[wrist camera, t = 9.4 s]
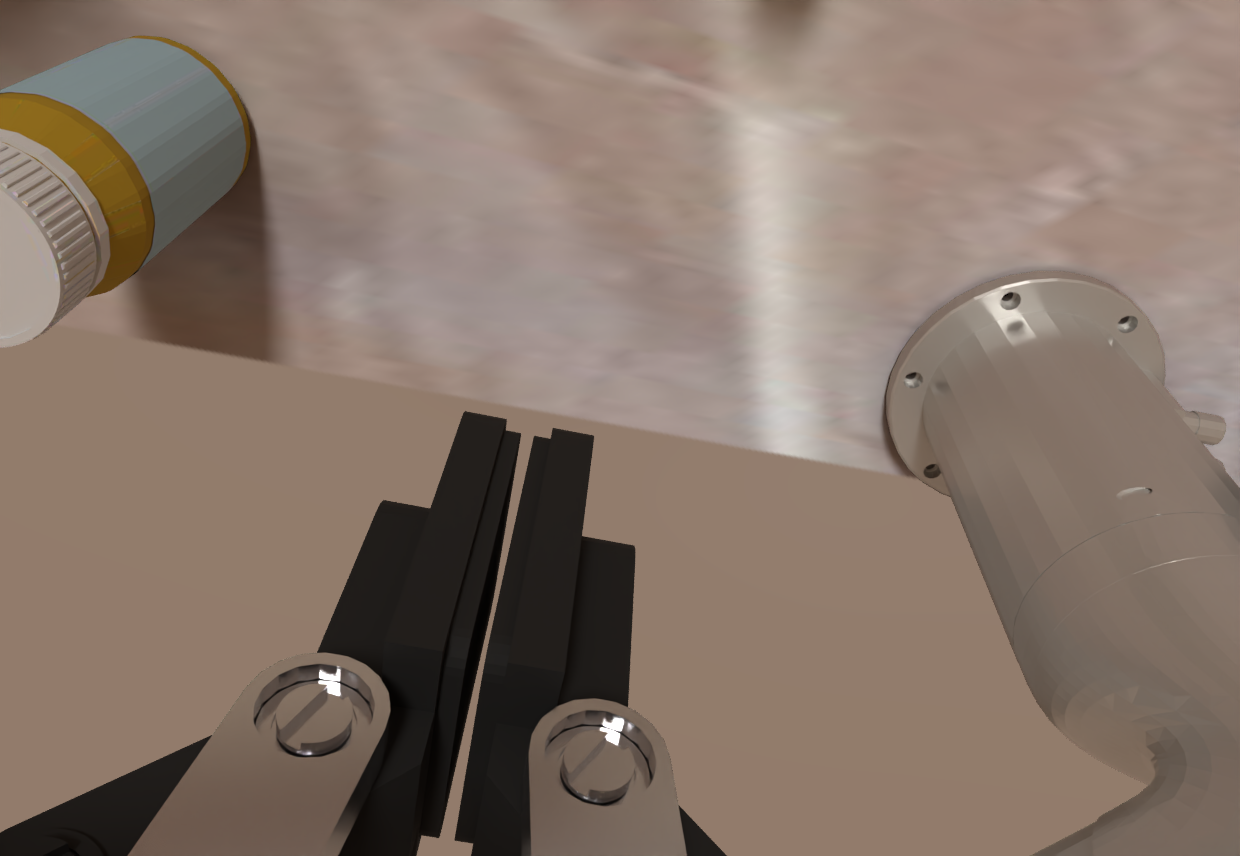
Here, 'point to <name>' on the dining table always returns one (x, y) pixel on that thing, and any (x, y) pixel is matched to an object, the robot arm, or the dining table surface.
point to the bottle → (107, 171)
